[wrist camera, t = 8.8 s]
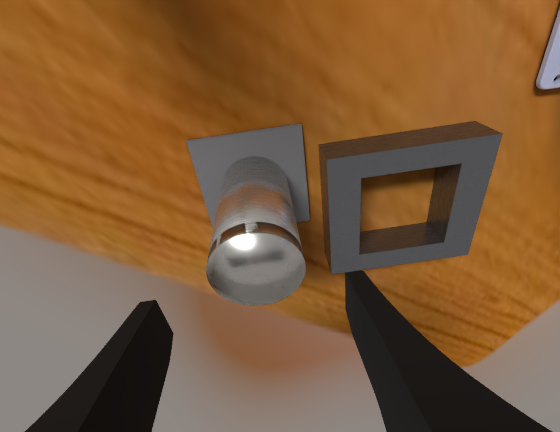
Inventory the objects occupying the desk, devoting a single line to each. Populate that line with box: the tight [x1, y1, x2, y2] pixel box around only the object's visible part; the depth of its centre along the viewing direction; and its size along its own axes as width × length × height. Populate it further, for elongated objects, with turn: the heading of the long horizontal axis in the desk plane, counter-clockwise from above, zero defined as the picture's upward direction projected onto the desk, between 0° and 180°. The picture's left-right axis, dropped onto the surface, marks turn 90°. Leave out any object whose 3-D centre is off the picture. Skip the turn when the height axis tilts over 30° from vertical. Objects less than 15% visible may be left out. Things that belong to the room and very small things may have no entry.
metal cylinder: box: [206, 156, 306, 306], centre depth 17 cm, size 4×4×8 cm
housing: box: [319, 121, 502, 274], centre depth 20 cm, size 10×9×2 cm
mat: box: [187, 123, 310, 228], centre depth 20 cm, size 7×7×1 cm
